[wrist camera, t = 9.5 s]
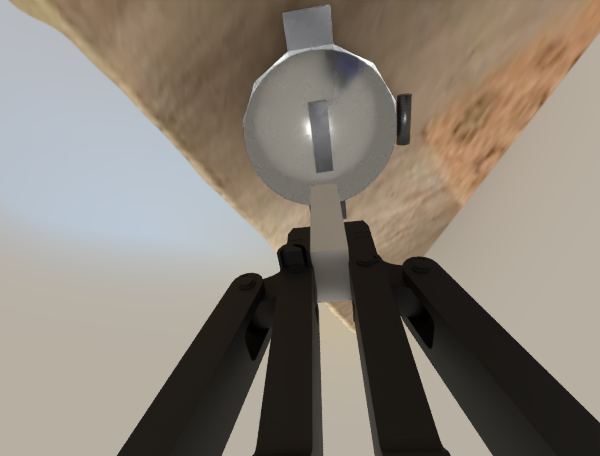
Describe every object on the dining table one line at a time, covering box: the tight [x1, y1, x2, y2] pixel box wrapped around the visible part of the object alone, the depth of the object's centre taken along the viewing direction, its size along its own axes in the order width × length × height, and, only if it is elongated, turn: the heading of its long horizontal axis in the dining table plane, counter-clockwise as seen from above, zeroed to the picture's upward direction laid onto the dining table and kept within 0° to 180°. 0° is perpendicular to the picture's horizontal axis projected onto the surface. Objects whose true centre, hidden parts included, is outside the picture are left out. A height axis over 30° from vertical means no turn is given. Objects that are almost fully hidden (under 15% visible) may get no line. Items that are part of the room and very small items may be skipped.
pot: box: [243, 4, 412, 219], centre depth 36 cm, size 22×18×7 cm
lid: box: [244, 49, 397, 205], centre depth 32 cm, size 16×16×2 cm
